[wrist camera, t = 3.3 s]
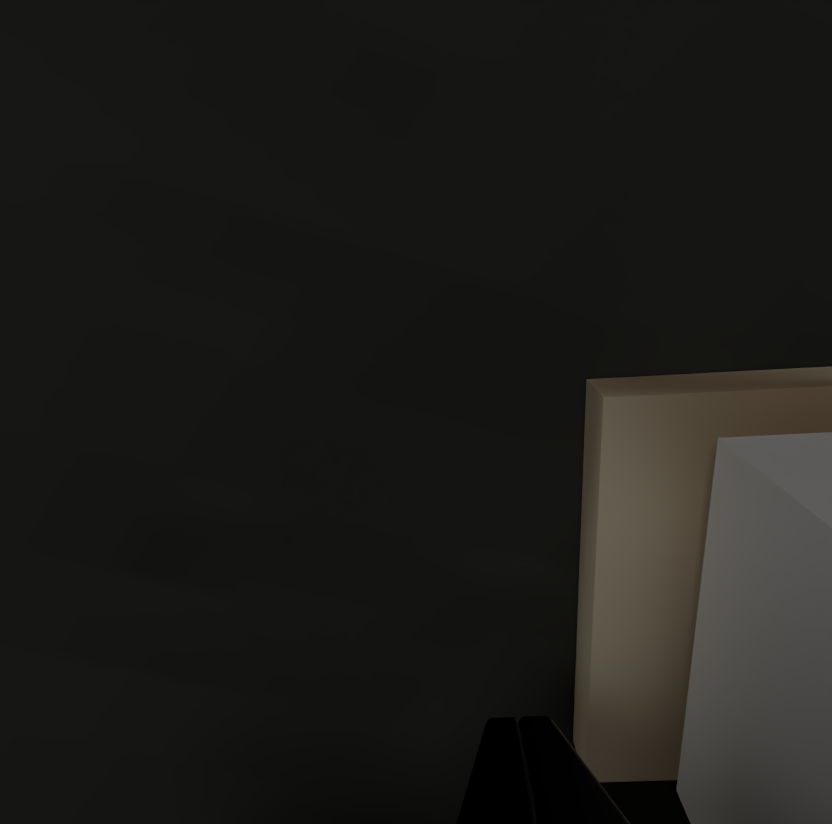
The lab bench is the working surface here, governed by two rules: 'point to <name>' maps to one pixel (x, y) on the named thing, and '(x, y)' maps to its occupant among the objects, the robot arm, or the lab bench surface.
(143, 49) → the lab bench surface
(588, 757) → the plate
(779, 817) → the cover
